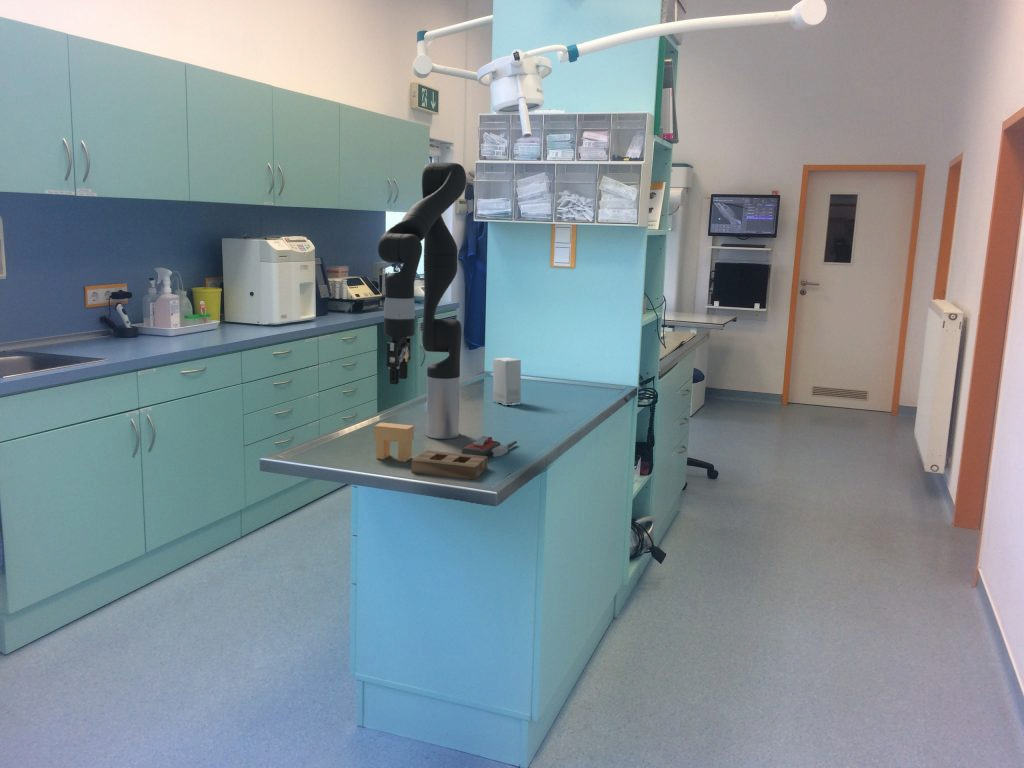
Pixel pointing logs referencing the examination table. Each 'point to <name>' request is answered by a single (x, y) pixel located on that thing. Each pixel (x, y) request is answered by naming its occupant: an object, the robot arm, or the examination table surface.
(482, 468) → the wooden socket block
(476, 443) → the red grey pronged tool
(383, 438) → the tan arch block
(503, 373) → the skincare box
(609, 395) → the examination table surface
